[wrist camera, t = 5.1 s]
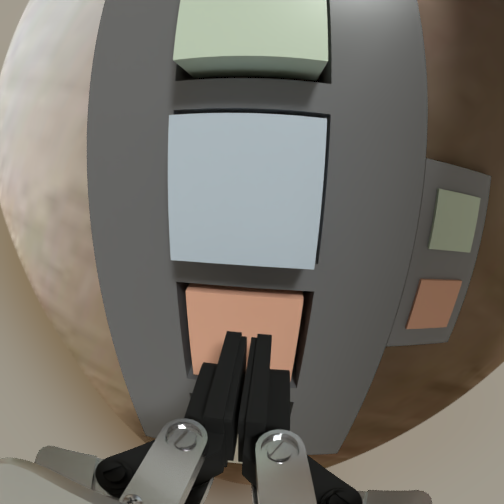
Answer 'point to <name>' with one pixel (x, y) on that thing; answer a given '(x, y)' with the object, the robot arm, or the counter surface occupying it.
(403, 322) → the card
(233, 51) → the sage key
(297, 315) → the terracotta key
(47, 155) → the counter surface
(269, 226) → the blue key
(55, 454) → the robot arm
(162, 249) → the keyguard frame
